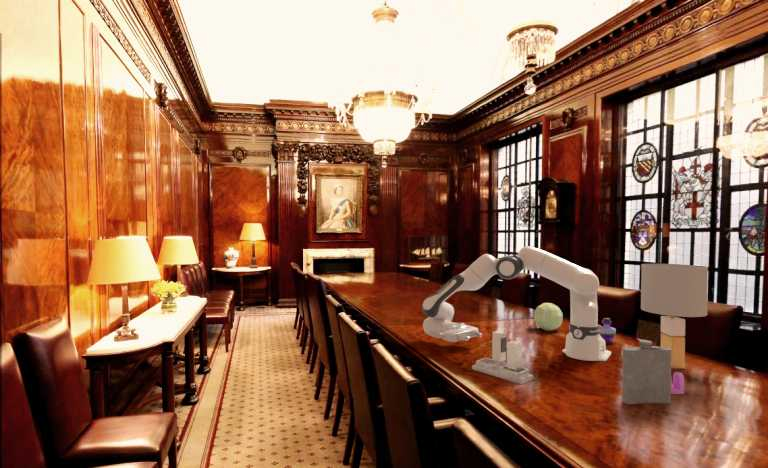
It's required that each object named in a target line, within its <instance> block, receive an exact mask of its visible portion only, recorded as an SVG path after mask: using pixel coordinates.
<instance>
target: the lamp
mask: <svg viewBox="0 0 768 468" xmlns="http://www.w3.org/2000/svg"><path fill="white" fill-rule="evenodd" d="M708 270H709V267H708V266H705V265H692V264H682V263H681V264H679V263H642V264H641V277H640V279H641V281H640V286H641V287H640V309H641V310H642V311H644V312H647V313H651V314H657V315H660V347H665V348H670V349H671V370H672V369H678V370H679V369H680V370H681V369H683V370H684V369H685V366H686V365H685V363H686V361H685V360H686V337H685V336H686V319H685V318H700V317H701V318H702V317H706V316H708V272H709V271H708ZM681 317H683V318H681Z"/></svg>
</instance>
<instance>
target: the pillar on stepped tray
mask: <svg viewBox="0 0 768 468" xmlns="http://www.w3.org/2000/svg"><path fill="white" fill-rule="evenodd" d="M522 358H523V342H521V341H517V340H510V341H506V360H505V363H506V364H505V365H504V361H497V360H494V359H492V358H490V357H484V358H481V359H477V360H475V364H473V365H471V370H473V371H477V372H480V373H481V374H482V373H483V374H486V375H489V376H492V377H494V378H495V377H496V378H499V379H502V380H505V381H508V382H512V383H515V384H518V385H519V384H520V385H524V384H526V383H528V382H530V381H532V380H534V374H530V372H529V370H530V369H529V368H526V367H523V359H522Z"/></svg>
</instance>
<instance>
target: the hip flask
mask: <svg viewBox="0 0 768 468" xmlns="http://www.w3.org/2000/svg"><path fill="white" fill-rule="evenodd" d="M638 343H639V346H635V347H634V346H631V347H622V374H621V376H622V377H621V378H622V379H621V380H622V385H621V389H622V391H621V392H622V393H621V394H622V395H621V402H622V403H623V404H625V403H626V405H636V404H637V405H639V404H667V403H669V404H671V403H672V401H671V400H672V399H671V398H672V394H671V377H672V368H671V349H670V348H665V347H661V346H653V342H652V341H651V340H647V339H640V340H639V341H638ZM638 403H639V404H638Z"/></svg>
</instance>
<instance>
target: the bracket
mask: <svg viewBox="0 0 768 468" xmlns="http://www.w3.org/2000/svg"><path fill="white" fill-rule="evenodd" d="M672 394H673V395H685V376H684V374H683V373H682V372H680V371H674V373H673V374H672V376H671V395H672Z"/></svg>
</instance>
